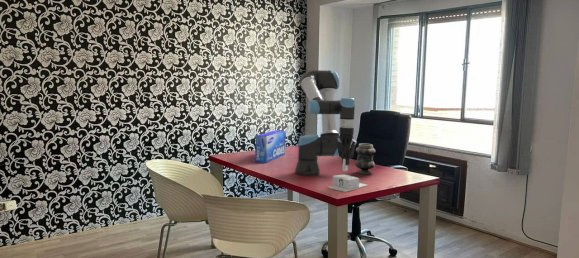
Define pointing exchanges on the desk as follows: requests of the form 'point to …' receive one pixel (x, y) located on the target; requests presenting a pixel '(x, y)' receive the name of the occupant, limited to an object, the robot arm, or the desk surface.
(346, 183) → the ink box
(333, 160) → the desk surface
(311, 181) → the desk surface
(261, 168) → the desk surface
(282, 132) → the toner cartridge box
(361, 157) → the apothecary jar
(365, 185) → the mat
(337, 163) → the desk surface
